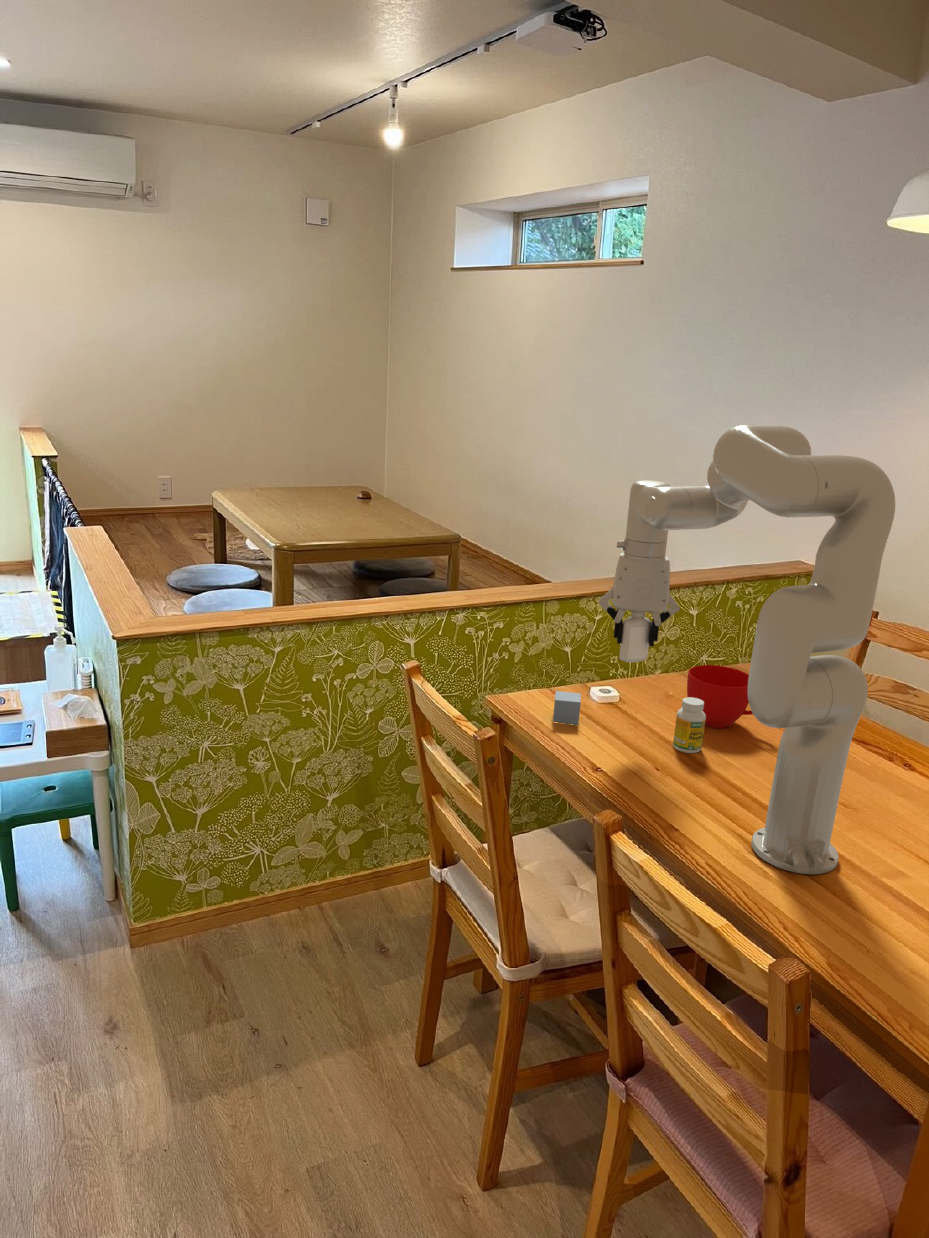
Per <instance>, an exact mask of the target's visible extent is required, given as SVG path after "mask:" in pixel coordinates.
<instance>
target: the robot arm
mask: <svg viewBox="0 0 929 1238" xmlns="http://www.w3.org/2000/svg"><path fill="white" fill-rule="evenodd" d="M706 473H707V474H706V477H707V485H703V486H702V485H701V486H699V485H697V486H695V485H680V486H678V485H677V486H671V485H670V484H669V483H667V482H663V481H659V480H658V481H657V480H651V479H650V480H648V479H647V480H638V481H637V480H636V481H635V482H634V483H632V484H631V487H630V492H629V502H628V510H627V511H628V512H627V519H626V529H625V536H624V537H625V538H623V539H622V540H617V541H616V548H617V549H620V550H622V551H623V552H621V553H620V554H619V558H618V561H617V566H616V569H615V573H614V580H613V586H612V587H611V588H610V589H609V590H608V591H606V593H604V594H603V596H601V597H600V598H599V599H598V604H599V605H600V607H602V608H603V610H604V611H605V612H606V613H607V614H608V615H609V616H610V617H611V618H612V620H613V621H614V629H613V639H616V643H617V644H619V645H621V641H622V632H623V622H624V621H623V617H624V615H625V612H626V611H631V612H632V611H643V612H645V613H646V612H647V613H651V614H652V620H651V627H650V636H649V647H654V644H655V642H658V639H659V638H658V637H659V631H660V630H659V629H660V627H661V626H662V624H663V623H665V621H667V620H668V619H670V617H672V616H673V615H675V614H677V613H678V612H680V606H679V605H678V603H677V601H676V600H675V598H674V597H673V596H672V594H671V593H670V586H671V585H670V582H671V565H670V564H671V562H670V558H668V556H666V552H667V543H668V536H669V535H668V534H669V531H680V530H706V529H711V528H715V527H717V526H720V525H722V524H724V523H727V522H729V521H731V520H733V519H735V518H737V517H738V516H740V515H741V514H742V513H743V511H744V510H745V509H746V507H747V505H748V502H749V501H752V502H753V503H754V504H756V505H757V506H759V507H760V508H762V509H764V510H765V511H767V512H768V513H771V514H772V515H774V516H779V517H782V518H784V517H785V518H818V517H819V518H820V517H821V518H822V517H832V518H834V519H835V521H834V523H833V524H832V526H831V527H830V528H829V529H828V531H826V534H825V535H824V537H823V538H822V540H821V542H820V544H819V546H818V549H817V551H816V554H815V563H814V567H813V572H812V576H811V578H810V582H809V583H808V584H801V585H799V584H798V585H791V586H785V587H782V588H779V589H777V590H776V591H774V592H773V593H772V594H770V596H768V597H767V598H766V600H765V602H764V603H763V605H762V607H761V608H760V611H759V614H758V617H757V622H756V623H757V624H756V627H755V635H754V641H753V647H752V654H751V659H750V665H749V666H750V667H749V673H748V674H749V679H748V701H749V703H748V705H749V708H750V711H752V713H753V714H752V715H753V716H754V717H755V719H756V720H757V721H758V722H759V723H760V724H761V725H763V726H766V727H768V728H772V729H784V730H783V733H782V735H781V737H780V742H779V746H778V752H777V754H776V756H777V757H776V762H775V767H774V773H773V777H772V778H773V779H772V783H771V791H770V794H769V795H770V796H769V800H768V806H767V811H766V818H765V824H764V827H762V828H759V829H757V830H756V831H755V832H753V834H752V837H751V843H750V844H751V848H752V849H753V851H754V853H755V854H757V856H758V857H759V858H761V860H763V861H764V862H766V863H768V864H770V865H772V866H774V867H776V868H779V869H781V870H784V871H787V872H790V873H796V874H802V875H822V874H826V873H829V872H831V871H833V870H834V869H835V868H837V866H838V862H839V857H840V856H839V853H838V850H837V849H836V847H835V846H833V844H832V843H831V839H832V834H833V829H834V823H835V818H836V815H837V810H838V809H837V808H838V804H839V799H840V793H841V789H842V784H843V781H844V780H843V779H844V775H845V770H846V767H847V766H846V765H847V761H848V756H849V752H850V747H851V744H852V740H853V736H854V734H855V731H856V728H857V726H858V723H859V721H860V718H861V717H862V714H863V712H864V709H865V707H866V704H867V700H868V689H869V687H868V680H867V678H866V674H865V672H864V671H863V670H862V668H861V667H860V666H859V665H858V664H857V663H856V662H854V661H853V660H851V659H850V658H848V657H844V656H841V655H836V654H835V655H834V654H832V655H831V654H823V655H814V656H812V654H815V653H825V652H826V653H827V652H835V651H841V650H847V649H851V648H854V647H856V646H859V644H861V643H862V642H863V640H865V638H866V636H867V635H868V631H869V627H870V624H871V619H872V615H873V611H874V604H875V599H876V595H877V594H876V593H877V589H878V583H879V579H880V572H881V565H882V561H883V556H884V553H885V549H886V546H887V543H888V539H889V537H890V533H891V530H892V527H893V522H894V518H895V515H896V514H895V511H896V496H895V492H894V491H895V490H894V488H893V484H892V483H891V480H890V478H889V476H888V475H887V473H885V471H884V470H883V469H882V468H881V467H880V466H879V465H877V464H876V463H874V462H873V461H870V460H868V459H864V458H862V457H858V456H853V455H852V456H851V455H838V454H837V455H836V454H835V455H834V454H833V455H831V454H829V455H828V454H827V455H826V454H825V455H821V454H820V455H812V448H811V445H810V442H809V440H808V439H807V437H806V436H805V435H804V434H803V433H802V432H801V431H799V430H798V429H795V428H792V427H789V426H785V425H784V426H782V425H763V424H762V425H757V424H756V425H755V424H753V425H751V424H742V425H736V426H734V427H731V428H730V429H728V430H726V431H725V432H724V433H723V434H722V435H721V436H720V437H719V438H718V440H717V442H716V444H715V446H714V449H713V455H712V460H711V463H710V464H709V466H708V469H707V472H706ZM611 599H612V605H613V606H612V605H611V604H610V603H609V602H610V601H611ZM668 605H669V606H668ZM614 607H615V608H614Z"/></svg>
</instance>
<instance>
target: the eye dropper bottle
mask: <svg viewBox="0 0 929 1238" xmlns="http://www.w3.org/2000/svg"><path fill="white" fill-rule="evenodd" d="M645 614H646V612H643V611H631V616H629V617H627V618H625V620H624V621H623V632H622V641H621V643H620V649H619V655H618V656H619V658H618V659H619V660H621V661H624V662H626V663H638V662H643V661H645V660H647V659H648V655H649V647H650V646H649V636H650V627H651V622H652V620H651V619H649V618H647V617H645Z"/></svg>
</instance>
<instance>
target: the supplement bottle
mask: <svg viewBox="0 0 929 1238" xmlns="http://www.w3.org/2000/svg"><path fill="white" fill-rule="evenodd" d="M703 709H704V702H703V701H702V700H700V699H697V698H692V697H687V696H686V697H684V698H682V700H681V708H679V709H678V710H677V713H676V720H675V727H674V733H673V742H672V746H673V748H674V749H675V750H677V751H679V752H681V753H686V754H696V753H699V752H701V750H702V746H703V740H704V733H705V726H706V725H705V721H706V715H705V713H704V712H703V711H702V710H703Z"/></svg>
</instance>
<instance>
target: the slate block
mask: <svg viewBox="0 0 929 1238" xmlns="http://www.w3.org/2000/svg"><path fill="white" fill-rule="evenodd" d="M581 695H582V694H581V692H580V693H579V692H570V691H559V690H555V694H554V705H553V706H554V707H553V713H554V714H553V715H552V717H553V718H552V723H553V722H558V723H565V724H564V725H566V724H573V725H572V726H576V725H578V726H579V721H580V712H581V701H582V697H581Z"/></svg>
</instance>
